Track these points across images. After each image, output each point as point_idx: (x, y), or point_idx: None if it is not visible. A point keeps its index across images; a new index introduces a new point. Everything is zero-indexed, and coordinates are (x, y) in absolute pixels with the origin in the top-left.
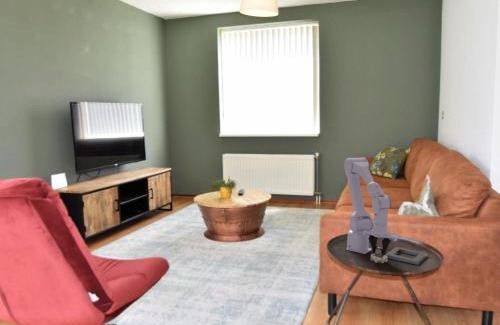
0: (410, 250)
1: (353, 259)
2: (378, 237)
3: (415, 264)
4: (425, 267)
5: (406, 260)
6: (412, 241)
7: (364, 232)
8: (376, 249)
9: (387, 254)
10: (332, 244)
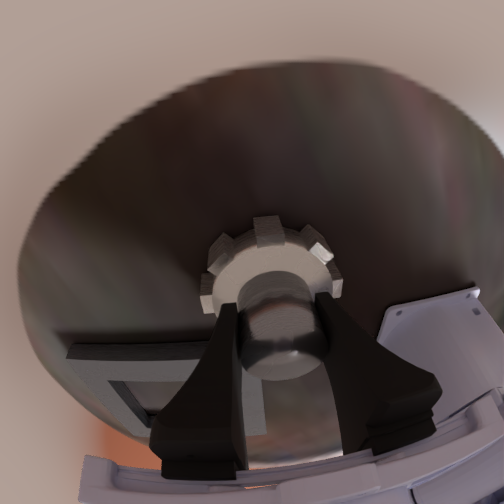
0: None
1: (431, 171)
2: (321, 460)
3: (80, 344)
4: (43, 340)
5: (120, 354)
6: (258, 465)
7: (493, 424)
8: (300, 321)
9: None
10: None
